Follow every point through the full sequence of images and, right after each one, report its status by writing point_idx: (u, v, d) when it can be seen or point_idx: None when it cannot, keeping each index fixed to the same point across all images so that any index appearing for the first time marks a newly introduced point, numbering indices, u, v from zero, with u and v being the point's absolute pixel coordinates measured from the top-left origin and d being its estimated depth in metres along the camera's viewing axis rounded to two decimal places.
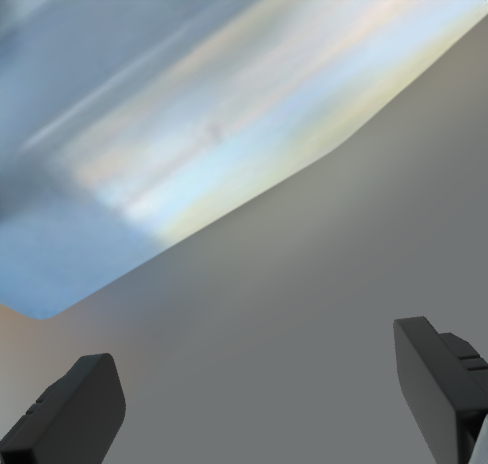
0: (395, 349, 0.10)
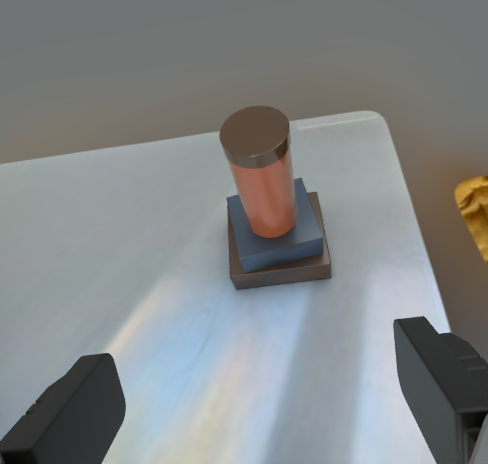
0: (395, 349, 0.10)
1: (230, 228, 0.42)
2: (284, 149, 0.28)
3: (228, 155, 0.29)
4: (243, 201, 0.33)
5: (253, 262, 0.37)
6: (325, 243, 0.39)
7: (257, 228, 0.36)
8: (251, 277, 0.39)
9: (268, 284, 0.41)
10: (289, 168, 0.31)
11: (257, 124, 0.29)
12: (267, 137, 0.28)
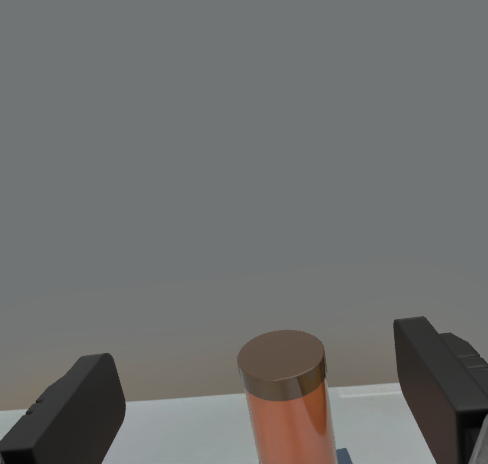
0: (395, 349, 0.10)
1: None
2: (318, 377, 0.21)
3: (245, 380, 0.22)
4: (262, 463, 0.24)
5: None
6: None
7: None
8: None
9: None
10: (327, 413, 0.23)
11: (285, 346, 0.24)
12: (296, 360, 0.22)
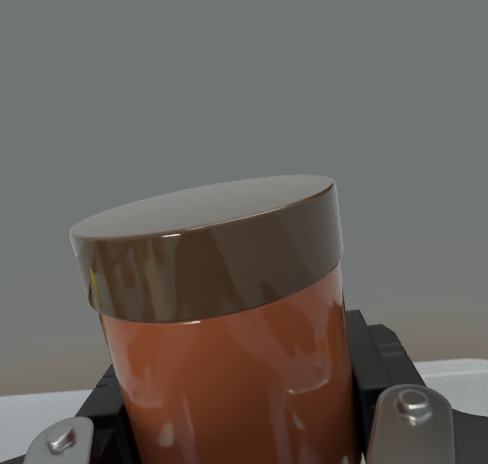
0: None
1: None
2: (316, 247, 0.06)
3: (80, 268, 0.07)
4: None
5: None
6: None
7: None
8: None
9: None
10: (345, 378, 0.07)
11: (222, 192, 0.08)
12: (245, 201, 0.07)
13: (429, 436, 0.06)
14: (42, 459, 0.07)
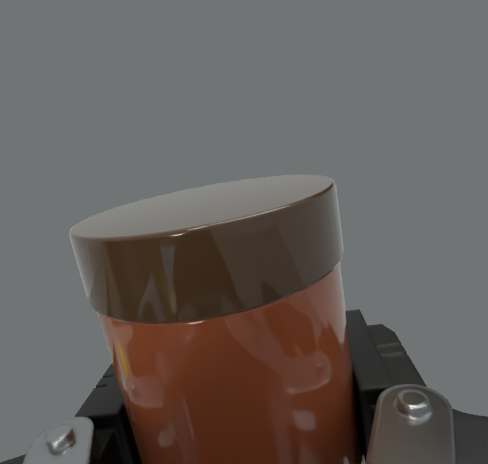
0: None
1: None
2: (317, 247, 0.06)
3: (80, 269, 0.07)
4: None
5: None
6: None
7: None
8: None
9: None
10: (345, 377, 0.07)
11: (222, 193, 0.08)
12: (245, 201, 0.07)
13: (429, 436, 0.06)
14: (42, 459, 0.07)
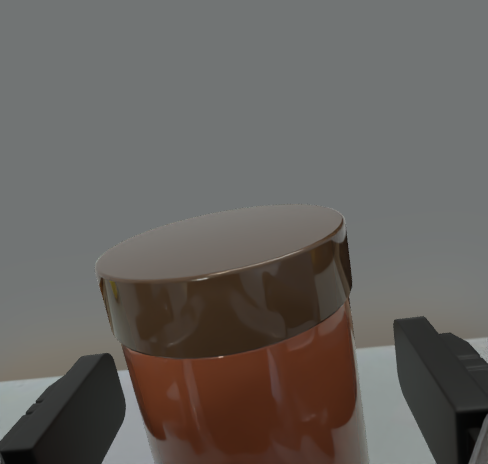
0: (395, 349, 0.10)
1: None
2: (328, 285, 0.07)
3: (105, 303, 0.07)
4: None
5: None
6: None
7: None
8: None
9: None
10: (354, 403, 0.08)
11: (236, 224, 0.09)
12: (260, 239, 0.07)
13: None
14: None
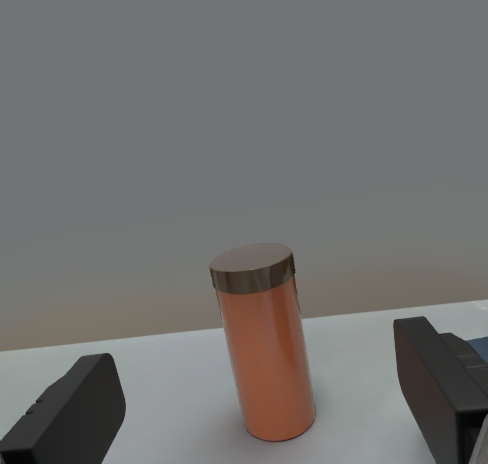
0: (395, 349, 0.10)
1: None
2: (284, 273, 0.22)
3: (215, 279, 0.23)
4: (234, 365, 0.24)
5: None
6: None
7: (254, 419, 0.24)
8: None
9: None
10: (295, 313, 0.23)
11: (255, 252, 0.24)
12: (264, 259, 0.23)
13: None
14: None
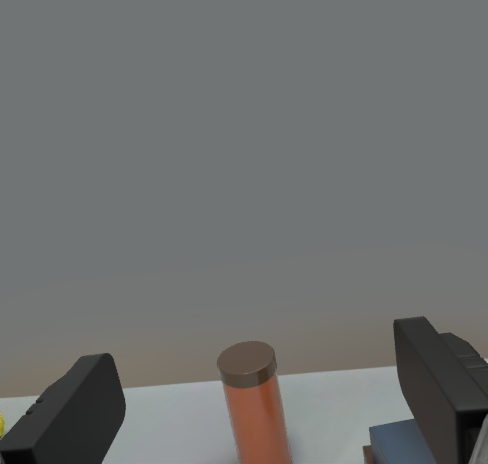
0: (395, 349, 0.10)
1: None
2: (268, 373, 0.33)
3: (221, 375, 0.34)
4: (234, 431, 0.35)
5: None
6: None
7: None
8: None
9: None
10: (276, 397, 0.34)
11: (249, 353, 0.35)
12: (255, 362, 0.33)
13: None
14: None
